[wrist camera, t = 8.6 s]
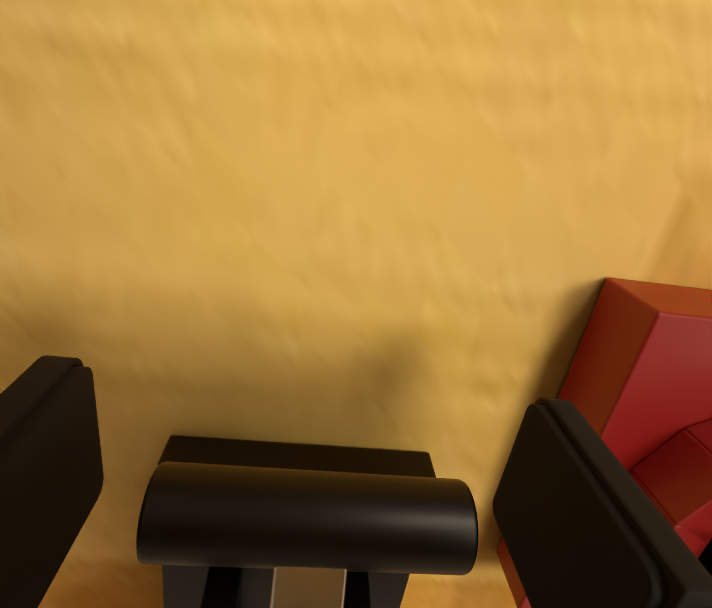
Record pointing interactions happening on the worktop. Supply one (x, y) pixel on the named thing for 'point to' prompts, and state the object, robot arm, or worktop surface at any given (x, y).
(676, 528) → the block
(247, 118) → the worktop surface
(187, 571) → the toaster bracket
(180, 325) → the worktop surface
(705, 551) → the stop button
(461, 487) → the lever
